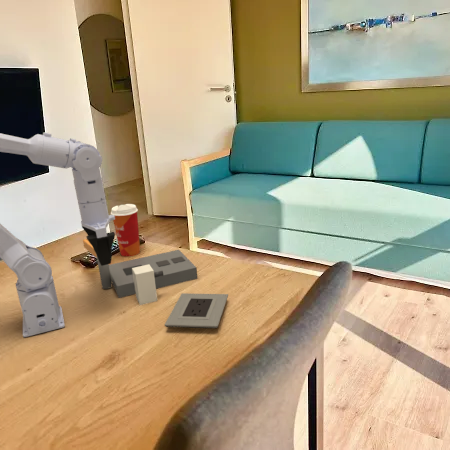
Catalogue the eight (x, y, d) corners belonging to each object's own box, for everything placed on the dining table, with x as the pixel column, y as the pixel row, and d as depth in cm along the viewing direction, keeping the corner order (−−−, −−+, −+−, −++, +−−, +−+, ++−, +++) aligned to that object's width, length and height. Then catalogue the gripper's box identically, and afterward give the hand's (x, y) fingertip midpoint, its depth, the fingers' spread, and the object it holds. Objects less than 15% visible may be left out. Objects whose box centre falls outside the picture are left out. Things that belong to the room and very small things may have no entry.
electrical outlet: (218, 335, 84) (217, 324, 84) (165, 333, 86) (164, 323, 86) (228, 302, 97) (227, 293, 96) (182, 301, 99) (181, 292, 98)
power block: (197, 278, 109) (196, 266, 108) (118, 297, 101) (116, 285, 100) (180, 259, 121) (178, 249, 120) (108, 275, 114) (106, 264, 113)
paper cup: (114, 251, 130) (107, 206, 126) (140, 246, 133) (133, 201, 129) (120, 260, 123) (112, 212, 119) (146, 254, 126) (140, 207, 122)
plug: (167, 298, 100) (164, 268, 97) (140, 305, 98) (135, 274, 95) (163, 291, 103) (159, 262, 101) (136, 297, 101) (131, 268, 99)
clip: (113, 286, 107) (107, 250, 104) (104, 289, 105) (97, 253, 102) (97, 271, 116) (91, 237, 113) (88, 273, 115) (82, 240, 112)
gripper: (116, 203, 88) (127, 265, 93) (105, 189, 101) (115, 244, 105) (80, 210, 86) (93, 273, 90) (73, 195, 98) (85, 250, 103)
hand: (103, 258), depth 98 cm, fingers open, 7 cm apart
